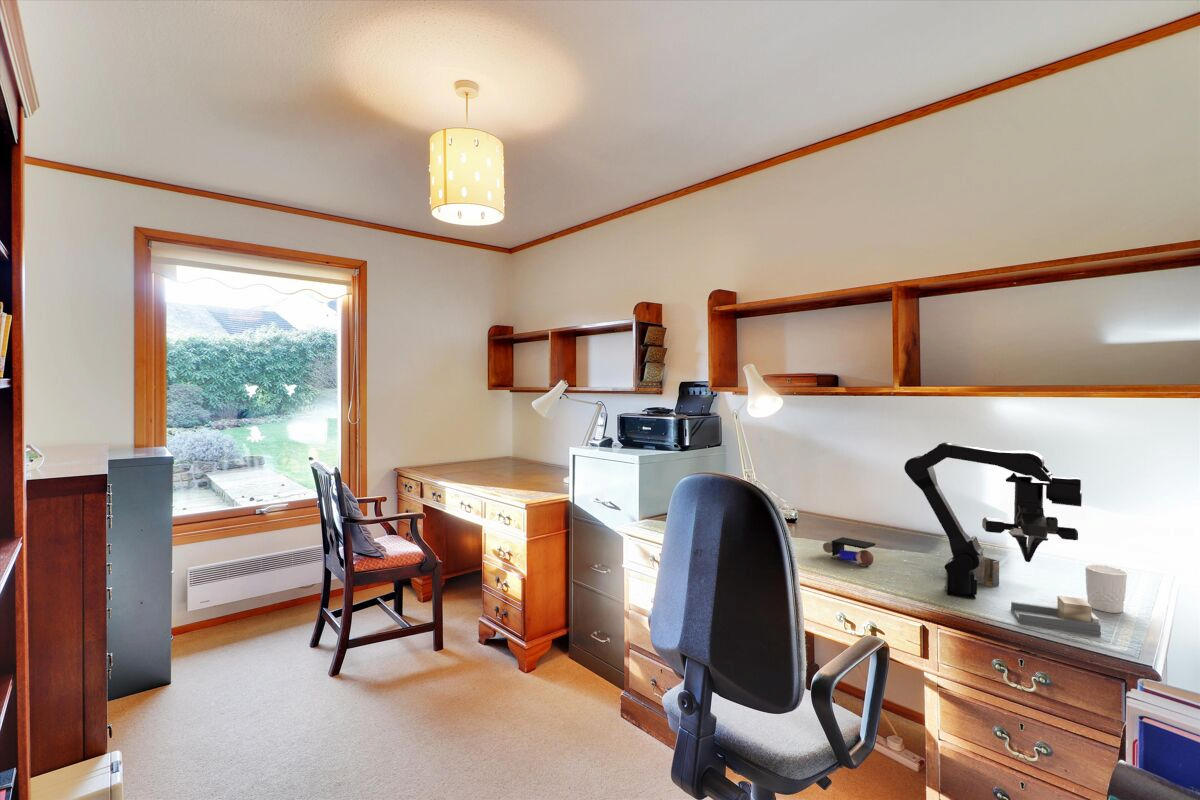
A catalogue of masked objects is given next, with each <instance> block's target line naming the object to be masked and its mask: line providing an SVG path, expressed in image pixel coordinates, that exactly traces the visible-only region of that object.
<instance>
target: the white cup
mask: <svg viewBox="0 0 1200 800" xmlns="http://www.w3.org/2000/svg"><path fill="white" fill-rule="evenodd" d="M1084 567H1085V572H1084V573H1085V587H1086V588H1085V589H1086V595H1087V600H1086V602H1088V603H1089V604H1090V605H1091V606H1092V609H1094V610H1097V611H1101V612H1105V613H1111V614H1121V613H1123V612H1124V606H1125V605H1124V604H1125V603H1124V602H1125V598H1126V591H1127V579H1128V572H1127V571H1126V570H1124V569H1121V568H1117V567H1113V566H1109V565H1103V564H1095V563H1094V564H1086V565H1085V566H1084Z"/></svg>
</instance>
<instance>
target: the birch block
mask: <svg viewBox="0 0 1200 800" xmlns="http://www.w3.org/2000/svg"><path fill="white" fill-rule="evenodd" d="M1056 603H1057V605H1056V607H1057V616H1058V617H1059V618H1062V619H1070V620H1077V621H1084V622H1091V613H1093V612H1092V611H1093V610H1092V609H1093V608H1092V606H1091V605H1090V604H1089V603H1088V602H1087V600H1086V599H1085V598H1079V597H1073V596H1062V595H1057V602H1056Z"/></svg>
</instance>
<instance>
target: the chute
mask: <svg viewBox="0 0 1200 800" xmlns="http://www.w3.org/2000/svg"><path fill="white" fill-rule="evenodd" d="M1010 604H1011V605H1010V611H1011V613H1012V614H1013V615H1014V617H1015V618H1017V619H1016V620H1017V622H1018V621H1019V622H1018V623H1019V624H1020V625H1026V626H1031V625H1033V626H1032V627H1038V626H1041V627H1040V628H1045V627H1048V628H1047V629H1051V628H1053V629H1052V630H1058V629H1061V630H1060V631H1065V630H1066V631H1065V632H1073V633H1079V634H1087V635H1094V636H1100V637H1101V636H1102V632H1101V628H1102V627H1101V626H1102V625H1101V624H1100V618H1098V616H1096V614H1095V613H1093V612H1092V613H1091V622H1084V621H1077V620H1070V619H1062V618H1059V617H1058V616H1057V606H1049V605H1040V604H1033V603H1025V602H1020V601H1019V602H1018V601H1013V600H1012V601H1011V602H1010Z"/></svg>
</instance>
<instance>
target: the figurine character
mask: <svg viewBox="0 0 1200 800" xmlns="http://www.w3.org/2000/svg"><path fill="white" fill-rule="evenodd" d="M845 546H848V547H853V548H857V549H858V548H859V549H861V550H859V551H856V550H855V551H853V550H846V549H845ZM874 546H876V542H871V541H865V540H860V539H855V538H850V537H849V538H848V537H844V536H842V537H840V538H836V539H833V540H831V541H827V542H824V543H823V545H822V549H823V551H824V552H825V553H827V554H831V553H832V555H831V556H830V558H831V559H833V560H844V561H849V562H850V561H851V562H857V563H858V564H859V566H862V567H869V566H871V565H872V564H873V562H874V555H873V554H872V552H871V551H869V550H867V549H869V548H871V547H874ZM865 549H866V550H865Z"/></svg>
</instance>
